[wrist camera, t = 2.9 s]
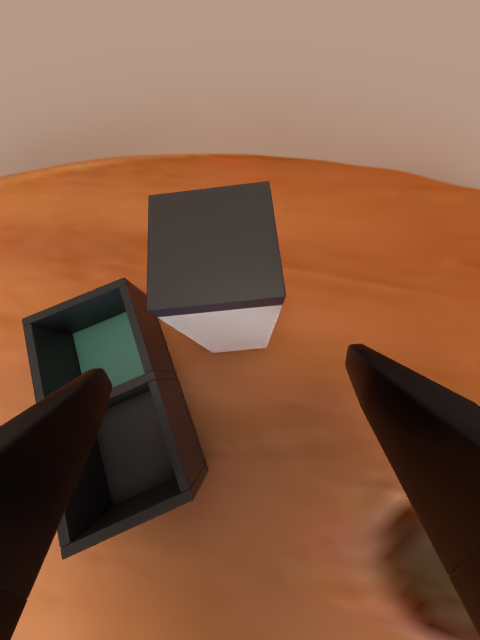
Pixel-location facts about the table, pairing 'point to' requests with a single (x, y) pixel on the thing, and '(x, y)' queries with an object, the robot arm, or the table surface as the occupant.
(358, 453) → the table surface
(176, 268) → the white gray rectangular block
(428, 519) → the robot arm
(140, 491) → the organizer
